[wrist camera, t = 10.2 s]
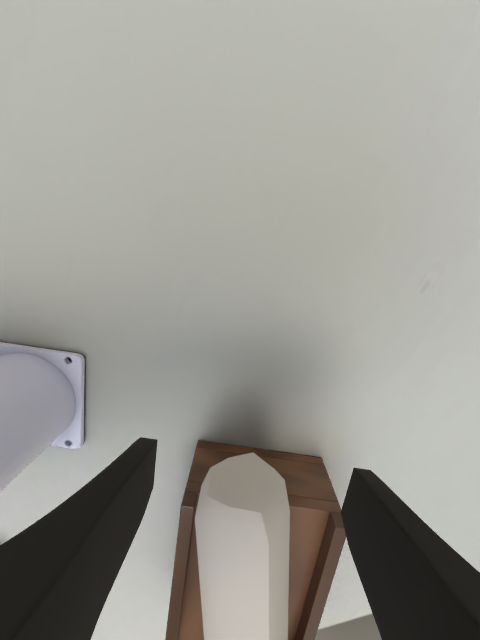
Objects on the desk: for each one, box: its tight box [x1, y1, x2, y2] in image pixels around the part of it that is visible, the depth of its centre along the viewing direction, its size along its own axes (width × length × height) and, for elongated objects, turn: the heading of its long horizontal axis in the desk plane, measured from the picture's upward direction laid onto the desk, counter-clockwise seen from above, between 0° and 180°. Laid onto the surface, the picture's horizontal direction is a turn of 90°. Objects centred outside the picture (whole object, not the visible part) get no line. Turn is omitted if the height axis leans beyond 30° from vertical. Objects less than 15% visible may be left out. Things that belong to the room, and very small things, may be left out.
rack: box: [165, 440, 346, 640], centre depth 21 cm, size 10×16×6 cm, turn 172°
